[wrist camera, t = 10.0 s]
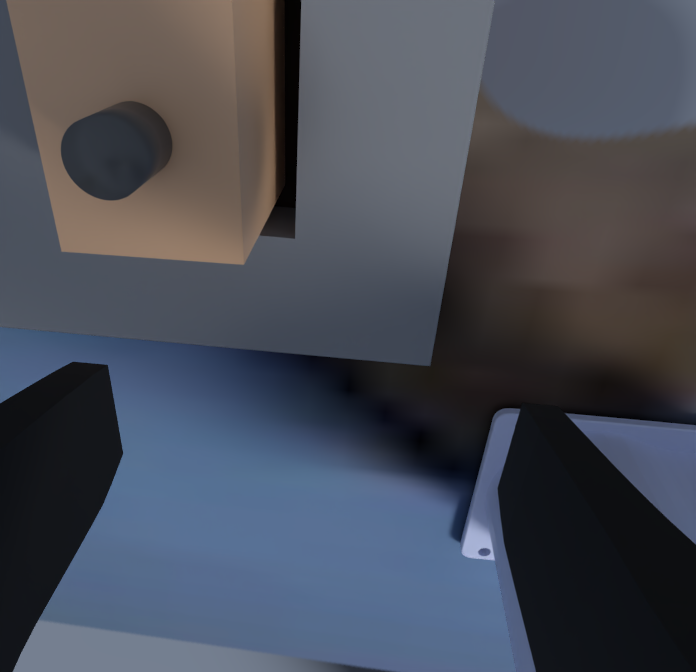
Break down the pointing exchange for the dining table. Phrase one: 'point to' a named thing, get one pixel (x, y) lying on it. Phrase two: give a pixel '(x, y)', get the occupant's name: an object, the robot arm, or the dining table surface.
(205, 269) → the socket
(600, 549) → the robot arm
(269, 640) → the dining table surface
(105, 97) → the plug
